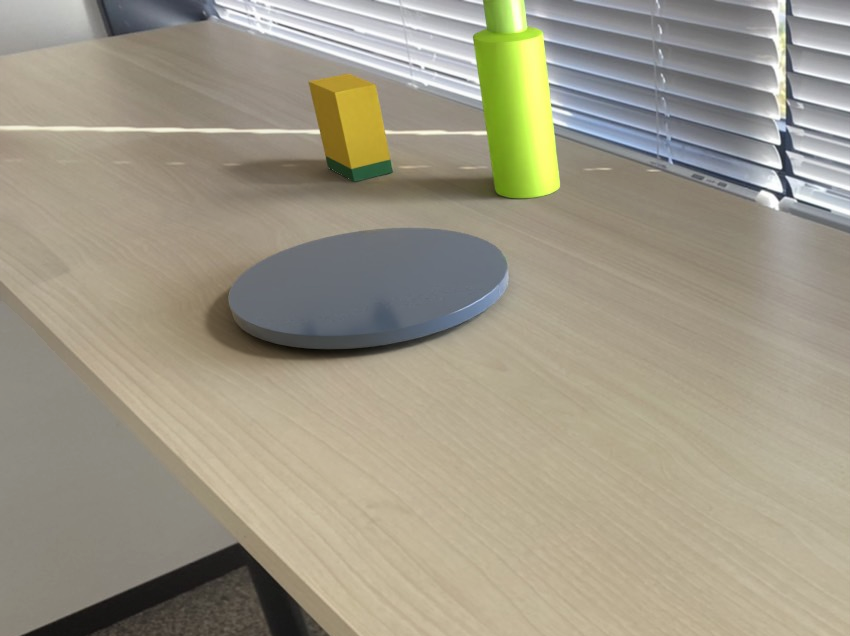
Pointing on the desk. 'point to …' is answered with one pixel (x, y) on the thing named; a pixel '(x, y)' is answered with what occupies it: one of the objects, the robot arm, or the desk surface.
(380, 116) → the sponge
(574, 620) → the desk surface
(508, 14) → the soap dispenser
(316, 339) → the plate
